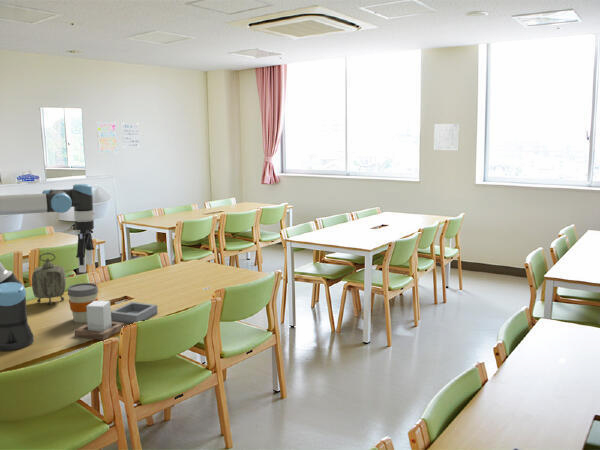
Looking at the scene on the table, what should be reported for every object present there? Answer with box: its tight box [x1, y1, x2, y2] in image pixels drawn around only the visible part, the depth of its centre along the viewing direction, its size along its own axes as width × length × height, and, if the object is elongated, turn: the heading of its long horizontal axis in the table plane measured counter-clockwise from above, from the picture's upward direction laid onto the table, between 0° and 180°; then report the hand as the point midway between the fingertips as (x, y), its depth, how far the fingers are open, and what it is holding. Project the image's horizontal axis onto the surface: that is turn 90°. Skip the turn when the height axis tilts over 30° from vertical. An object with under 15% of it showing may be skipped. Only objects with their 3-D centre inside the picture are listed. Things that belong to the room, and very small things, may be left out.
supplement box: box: [86, 300, 112, 332], centre depth 225 cm, size 7×7×13 cm
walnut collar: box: [73, 321, 125, 341], centre depth 226 cm, size 14×14×2 cm
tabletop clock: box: [31, 252, 67, 305], centre depth 261 cm, size 14×9×25 cm, turn 110°
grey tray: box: [111, 301, 158, 325], centre depth 245 cm, size 16×14×4 cm
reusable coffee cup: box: [67, 282, 99, 324], centre depth 240 cm, size 13×13×15 cm
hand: (86, 268), depth 235 cm, fingers open, 13 cm apart
